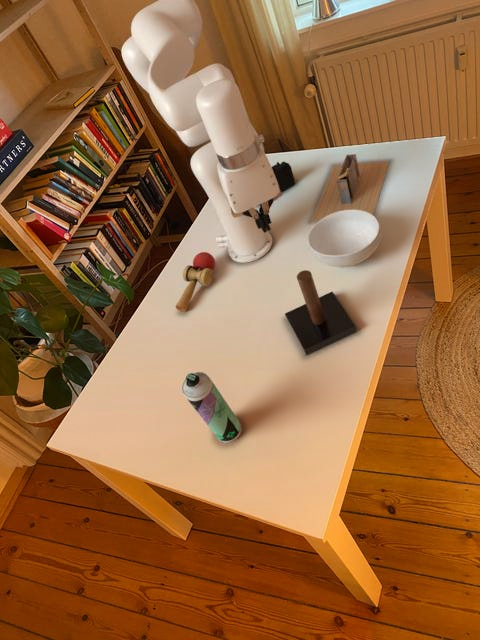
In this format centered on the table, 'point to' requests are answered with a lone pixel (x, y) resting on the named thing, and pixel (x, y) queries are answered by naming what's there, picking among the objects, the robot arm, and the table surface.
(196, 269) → the kendama
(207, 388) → the spray can
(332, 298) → the towel holder
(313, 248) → the cereal bowl
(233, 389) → the table surface
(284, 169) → the film camera
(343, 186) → the ruin model on sheet
